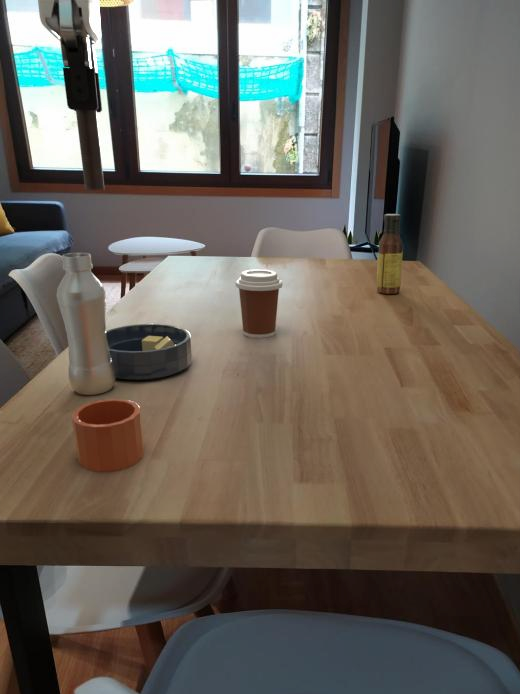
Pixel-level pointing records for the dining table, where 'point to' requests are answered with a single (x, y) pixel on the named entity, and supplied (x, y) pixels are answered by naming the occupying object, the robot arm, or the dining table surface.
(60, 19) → the robot arm
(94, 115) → the stick
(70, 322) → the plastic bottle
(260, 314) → the coffee cup
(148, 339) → the chunk
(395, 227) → the sauce bottle
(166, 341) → the chunk
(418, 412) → the dining table surface
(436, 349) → the dining table surface
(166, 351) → the bowl
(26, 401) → the dining table surface
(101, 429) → the holder
